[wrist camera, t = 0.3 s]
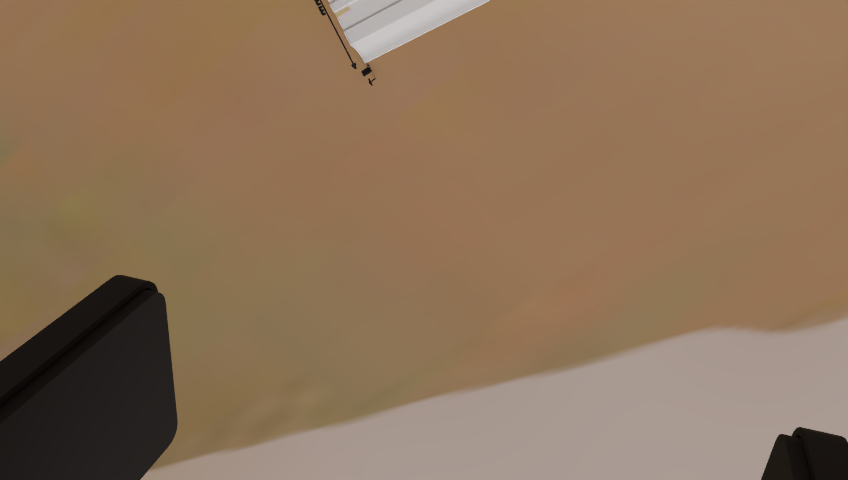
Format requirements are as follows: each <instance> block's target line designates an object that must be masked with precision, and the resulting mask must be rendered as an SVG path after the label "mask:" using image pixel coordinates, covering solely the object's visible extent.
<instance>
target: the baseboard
mask: <svg viewBox="0 0 848 480" xmlns="http://www.w3.org/2000/svg"><path fill="white" fill-rule="evenodd" d="M314 1H315V2H316V4H317V6H319V5H321V4H322V6H323V8H324V9H321V8H322V6H320V7H318V8H319V10H320V12H321V14H322V15H325V14H326V13H327V11H326V9H325V7H324V5H323V3H322V1H321V0H320V2H321V3H318V1H319V0H314ZM328 1H329V5H330V7H331V9H332V11H333V12H334V13H335V15H336V17H337V19H338V21H339V23H340V25H341V27H342V28H343V32H344V34H345V36H346V38H347V40H348V42H349V44H350V45H351V46H352V47H353V48H354V49H355V50H356V51H357V52H358V53H359V54H360V56H361V57H362V59H363V61H364V63H367V62H369V61H371V60H373V59H375V58H377V57H379V56H381V55H383V54H385V53H387V52H389V51H391V50H393V49H395V48H397V47H399V46H401V45H403V44H405V43H407V42H409V41H411V40H413V39H415V38H417V37H419V36H421V35H422V34H424V33H426V32H428V31H430V30H432V29H434V28H436V27H438V26H440V25H442V24H444V23H446V22H448V21H450V20H452V19H454V18H456V17H458V16H460V15H462V14H464V13H466V12H468V11H470V10H472V9H474V8H476V7H478V6H480V5H482V4H484V3H486V2H488V1H490V0H328ZM324 10H325V12H326V13H323V11H324ZM327 15H328V13H327ZM328 17H329V15H328ZM329 19H330V17H329ZM330 21H331V19H330ZM331 23H332V21H331ZM332 25H333V23H332ZM333 27H334V29H335V31H336V33H337V35H338V37H339V39H340V40H341V38H340V36H339V34H338V32H337V30H336V28H335V26H334V25H333ZM341 42H342V40H341ZM342 44H343V42H342ZM343 46H344V44H343ZM344 48H345V46H344ZM345 50H346V48H345ZM346 52H347V50H346ZM347 54H348V56H349V58H350V60H351V62H352V65H351V66H352V67H353V68H355V69H356V63H353V61H352V59H351V57H350V55H349V53H348V52H347ZM367 66H369V65H367ZM370 72H372V71H371V69H370V67H369V68H368V67H367V68H366V69H364V70H363V71H362V74H363V76H366V75H367V74H369V73H370ZM375 79H376V78H375ZM375 79H373V80H375ZM373 80H372V81H373ZM372 81H370V79H369V84H371V85H372V83H371V82H372ZM372 86H373V85H372Z"/></svg>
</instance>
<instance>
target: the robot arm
mask: <svg viewBox="0 0 848 480" xmlns="http://www.w3.org/2000/svg"><path fill="white" fill-rule="evenodd" d="M176 430H177V412H176V402H175V392H174V382H173V372H172V362H171V352H170V342H169V332H168V322H167V312H166V302H165V298H164V296H163V294H161V293H158V290H157V287H156V286H155V284H154V283H152V282H150V281H146V280H141V279H137V278H132V277H128V276H124V275H116V276H114V277H112V278H111V279H109V280H108V281H107V282H105V283H104V284H103V285H101V286H100V287H99V288H97V289H96V290H95V291H93V292H92V293H91V294H89V295H88V296H87V297H85V298H84V299H83V300H81V301H80V302H79V303H78V304H76V305H75V306H74V307H72V308H71V309H70V310H68V311H67V312H66V313H64V314H63V315H62V316H60V317H59V318H58V319H56V320H55V321H54V322H52V323H51V324H50V325H48V326H47V327H46V328H44V329H43V330H42V331H40V332H39V333H38V334H36V335H35V336H34V337H32V338H31V339H30V340H28V341H27V342H26V343H24V344H23V345H22V346H20V347H19V348H18V349H16V350H15V351H14V352H12V353H11V354H10V355H8V356H7V357H6V358H4V359H3V360H2V361H0V480H140V479H141V478H142V477H143V476H144V475H145V473H146V472H147V471H148V470H149V469H150V467H151V466H152V465H153V464H154V463H155V462H156V460H157V459H158V458H159V457H160V456H161V455H162V453H163V452H164V451H165V450H166V449H167V447H168V446H169V445H170V444H171V442H172V440H173V438H174V436H175V433H176ZM761 480H848V442H847V441H846V439H845V438H844V437H842V436H838V435H833V434H829V433H824V432H820V431H815V430H810V429H806V428H801V427H799V428H796V430H795V431H794V432H793V434H792V436H788V435H784V434H780V435H779V436H778V437H777V439H776V441H775V444H774V447H773V449H772V452H771V455H770V458H769V460H768V463H767V465H766V468H765V471H764V473H763V476H762V479H761Z"/></svg>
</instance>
